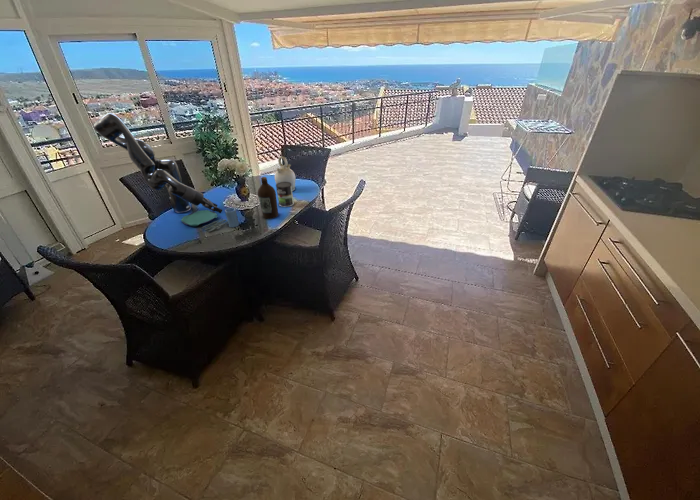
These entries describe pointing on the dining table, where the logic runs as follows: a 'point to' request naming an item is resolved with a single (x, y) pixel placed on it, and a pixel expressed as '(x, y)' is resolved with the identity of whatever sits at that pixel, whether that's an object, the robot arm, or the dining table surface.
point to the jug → (285, 173)
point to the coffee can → (285, 194)
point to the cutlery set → (202, 219)
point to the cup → (232, 217)
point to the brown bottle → (267, 200)
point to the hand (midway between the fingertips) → (219, 209)
